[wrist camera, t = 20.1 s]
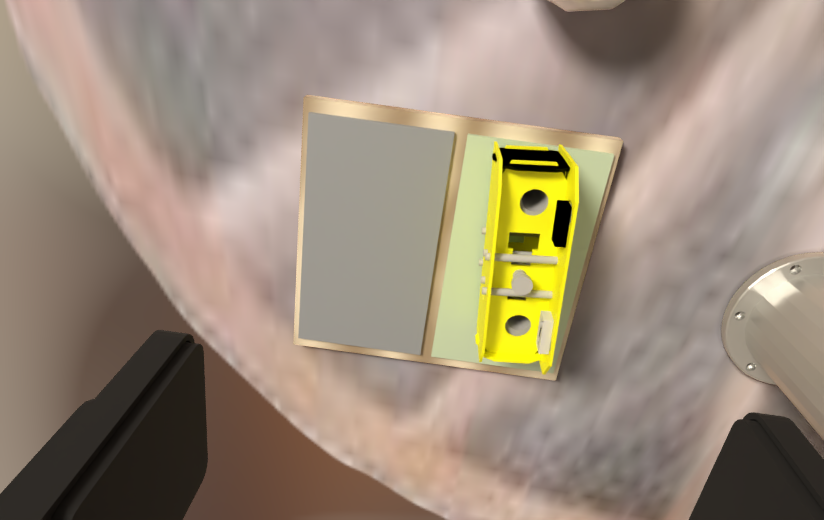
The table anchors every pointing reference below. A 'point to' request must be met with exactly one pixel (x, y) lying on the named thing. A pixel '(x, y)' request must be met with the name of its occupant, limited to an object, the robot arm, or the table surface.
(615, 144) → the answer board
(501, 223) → the yellow toy chassis
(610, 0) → the white ovoid
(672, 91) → the table surface
